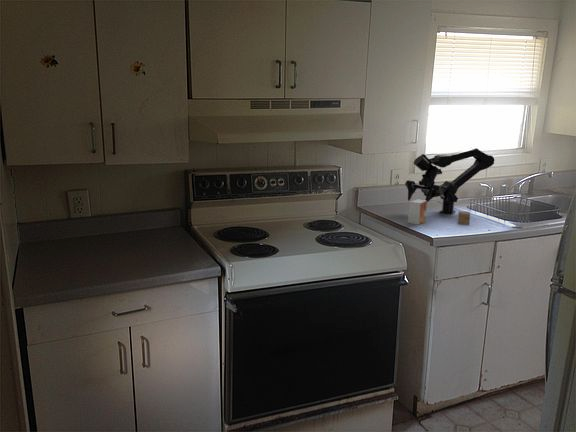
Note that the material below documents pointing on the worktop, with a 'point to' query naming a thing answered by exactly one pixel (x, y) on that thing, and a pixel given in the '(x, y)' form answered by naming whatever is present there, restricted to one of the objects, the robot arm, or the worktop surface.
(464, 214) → the walnut block
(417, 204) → the small box
